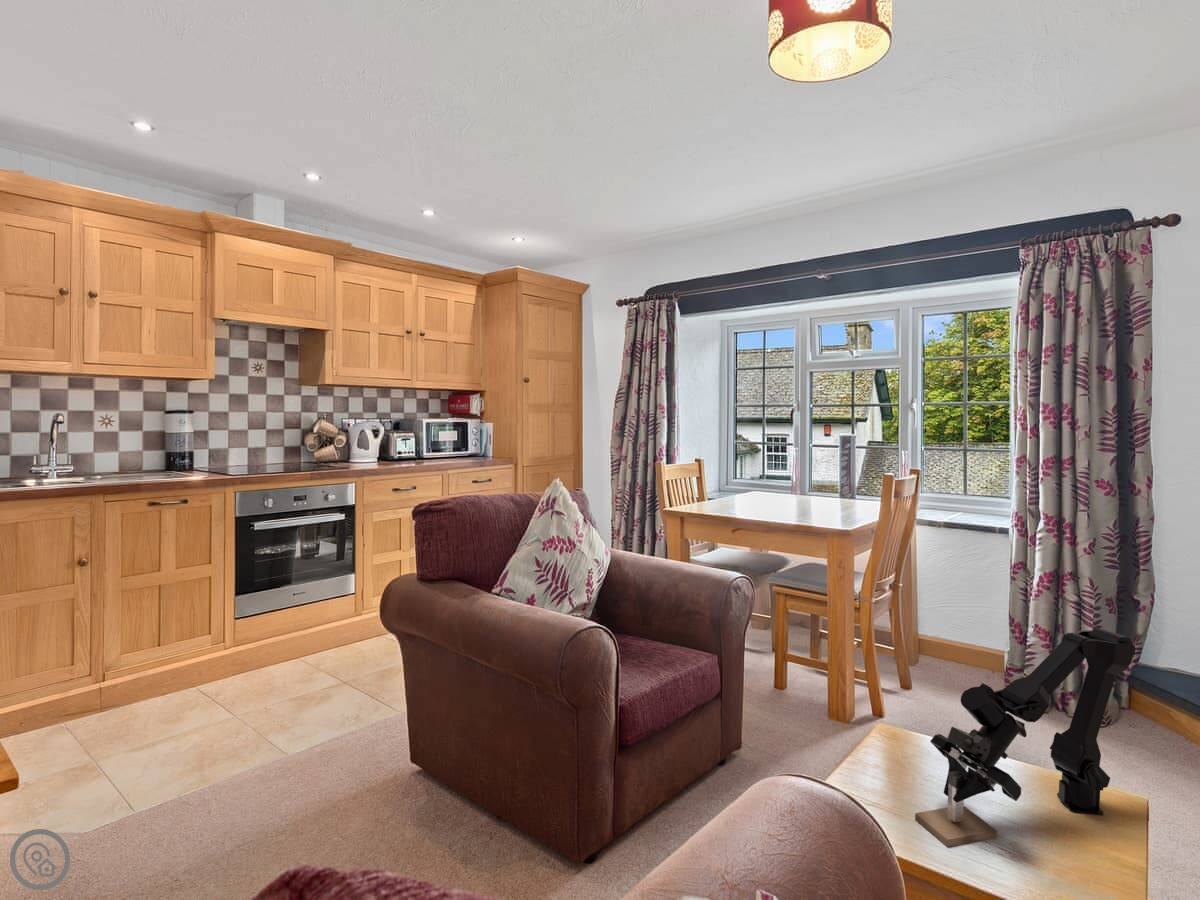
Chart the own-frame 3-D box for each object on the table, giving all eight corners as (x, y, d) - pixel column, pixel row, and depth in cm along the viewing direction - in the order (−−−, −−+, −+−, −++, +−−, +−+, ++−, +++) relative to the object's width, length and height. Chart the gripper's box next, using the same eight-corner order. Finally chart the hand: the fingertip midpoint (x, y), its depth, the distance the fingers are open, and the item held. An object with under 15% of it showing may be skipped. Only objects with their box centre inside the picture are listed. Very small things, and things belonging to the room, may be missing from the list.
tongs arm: (959, 817, 138) (960, 773, 138) (963, 820, 137) (964, 775, 137) (951, 819, 138) (952, 774, 137) (955, 822, 137) (956, 777, 136)
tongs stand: (962, 811, 144) (963, 759, 143) (996, 837, 135) (998, 781, 134) (915, 819, 141) (916, 766, 140) (947, 847, 132) (949, 790, 131)
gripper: (938, 697, 147) (895, 753, 144) (1011, 735, 129) (964, 800, 126) (965, 727, 150) (924, 782, 147) (1041, 769, 132) (996, 832, 129)
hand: (949, 797), depth 137 cm, fingers closed
